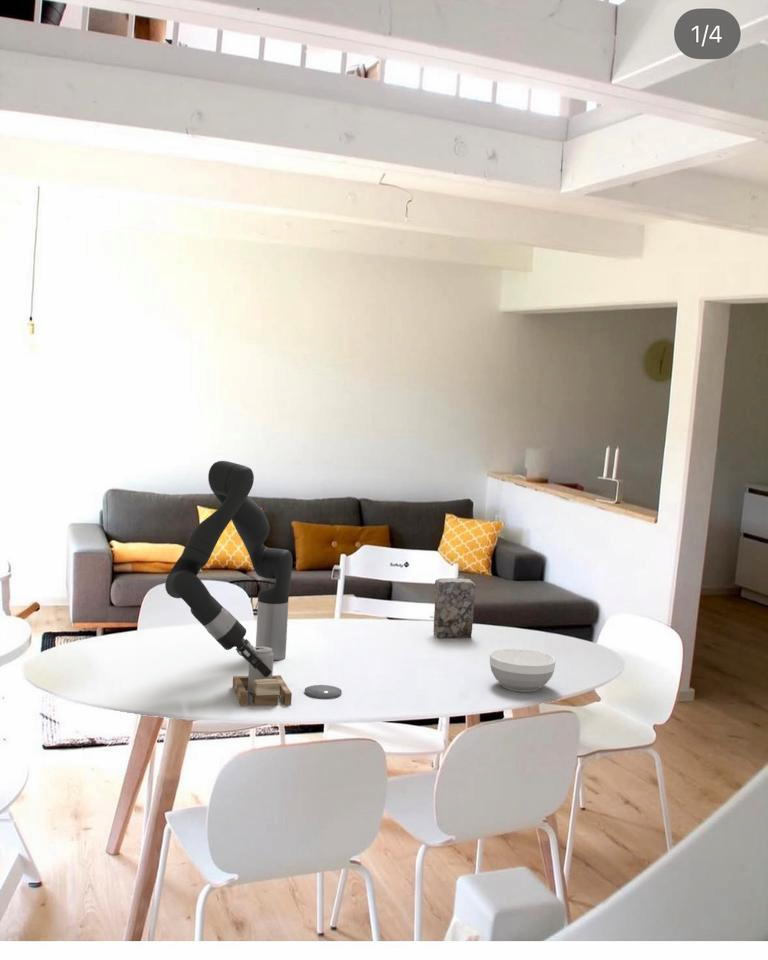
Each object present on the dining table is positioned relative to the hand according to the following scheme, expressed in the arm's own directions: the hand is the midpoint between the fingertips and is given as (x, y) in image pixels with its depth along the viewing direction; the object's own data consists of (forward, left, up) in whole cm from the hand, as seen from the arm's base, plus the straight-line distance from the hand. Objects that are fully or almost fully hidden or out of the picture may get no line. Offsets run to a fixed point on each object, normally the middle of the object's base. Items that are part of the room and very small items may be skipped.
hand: (266, 670), depth 274 cm
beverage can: (0, -2, -6) cm, 6 cm away
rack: (+3, -2, -6) cm, 7 cm away
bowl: (0, +74, -6) cm, 74 cm away
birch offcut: (+9, -2, -3) cm, 10 cm away
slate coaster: (+2, +15, -6) cm, 17 cm away
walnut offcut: (+9, -2, -6) cm, 11 cm away
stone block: (-60, +74, -6) cm, 95 cm away
